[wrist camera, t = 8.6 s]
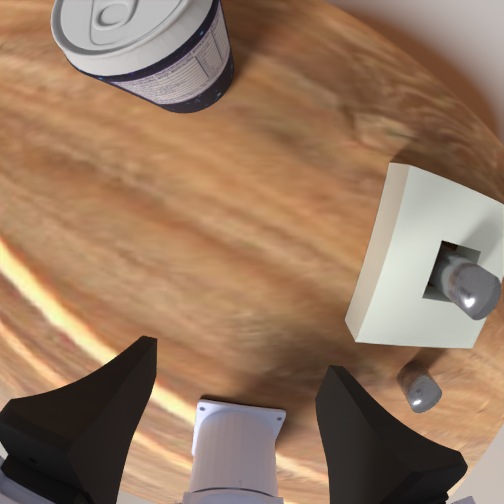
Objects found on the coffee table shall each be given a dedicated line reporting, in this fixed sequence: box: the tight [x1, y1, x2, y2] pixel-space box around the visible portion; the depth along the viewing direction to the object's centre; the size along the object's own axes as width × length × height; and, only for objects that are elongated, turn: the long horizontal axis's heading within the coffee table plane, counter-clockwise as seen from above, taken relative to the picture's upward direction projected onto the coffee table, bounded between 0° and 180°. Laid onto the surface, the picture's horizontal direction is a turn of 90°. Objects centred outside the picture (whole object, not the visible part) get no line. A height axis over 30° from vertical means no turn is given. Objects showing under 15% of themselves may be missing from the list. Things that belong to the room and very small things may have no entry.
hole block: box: [345, 162, 504, 348], centre depth 20 cm, size 12×12×3 cm
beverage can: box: [51, 0, 234, 113], centre depth 11 cm, size 6×6×12 cm
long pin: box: [428, 243, 501, 320], centre depth 18 cm, size 3×3×7 cm
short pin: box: [397, 361, 442, 413], centre depth 23 cm, size 3×3×4 cm
